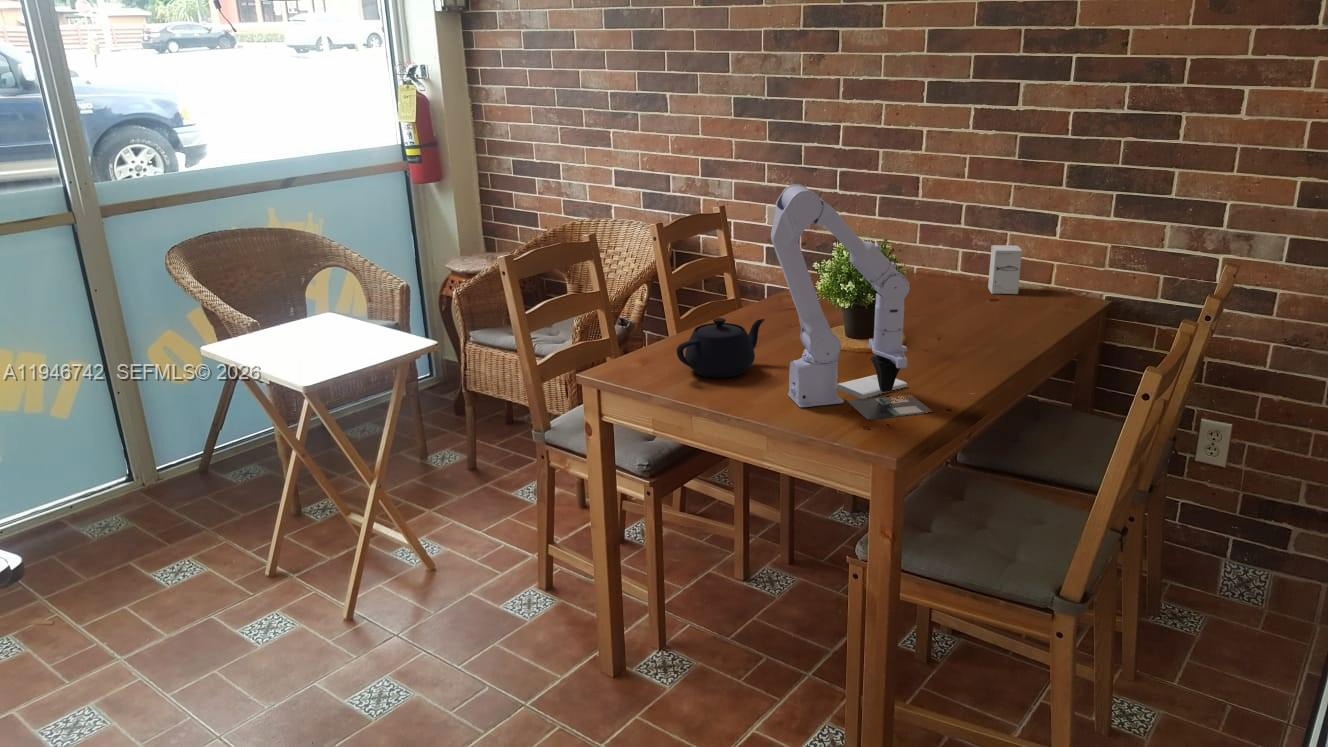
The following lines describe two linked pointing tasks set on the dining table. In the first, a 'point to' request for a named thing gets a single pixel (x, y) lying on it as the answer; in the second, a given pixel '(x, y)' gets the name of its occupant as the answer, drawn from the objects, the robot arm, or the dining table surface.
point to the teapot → (720, 349)
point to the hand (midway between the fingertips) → (885, 390)
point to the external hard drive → (867, 386)
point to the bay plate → (888, 407)
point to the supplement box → (1004, 269)
